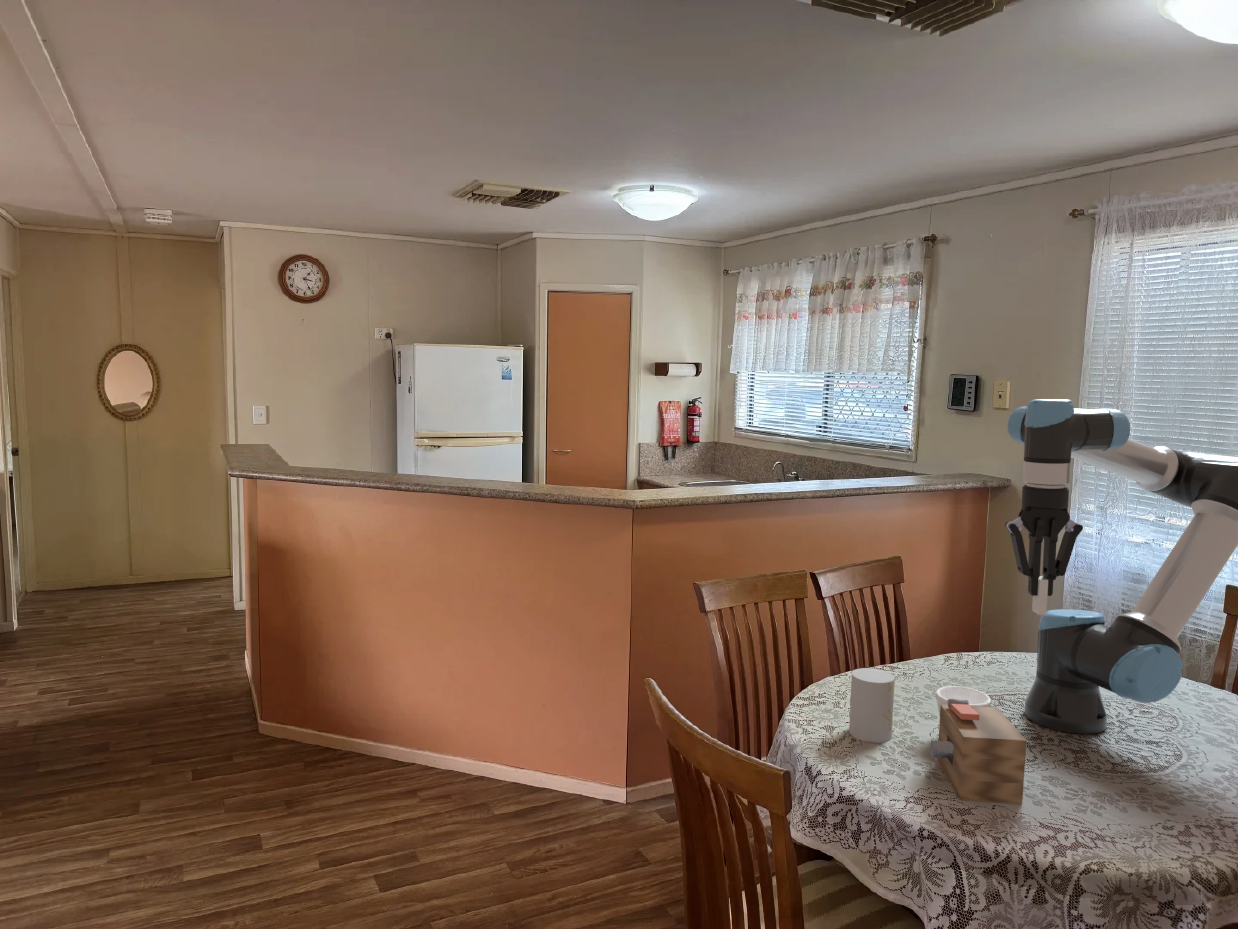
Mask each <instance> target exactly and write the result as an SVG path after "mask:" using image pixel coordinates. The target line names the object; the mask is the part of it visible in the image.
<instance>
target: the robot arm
mask: <svg viewBox="0 0 1238 929" xmlns="http://www.w3.org/2000/svg"><path fill="white" fill-rule="evenodd" d="M1006 427H1007V432H1008V435H1009V436H1010V438H1011V439H1012V440H1013V441H1015V442H1016V443H1019V444H1023V448H1024V449H1023V465H1022V466H1023V470H1022V471H1023V472H1022V482H1023V483H1025V484H1024V485H1023V486H1022V488H1021V508H1020V511H1019V513H1018V517H1017V518H1015V519H1013V520H1012V521H1006V522H1005V523H1004V527H1005V528H1006V529H1007V531H1008V533H1009V534H1010V538H1011V544H1012V548H1013V554H1014V557H1015V562H1016V568H1017V571H1018V572H1019V573H1021V574H1022V575H1024V576H1026V577H1028V579H1027V580H1028V584H1027V585H1028V586H1027V592H1028V594H1029V595H1031V596H1032V602H1031V603H1032V604H1031V606H1032V608H1031V611H1032V612H1033V613H1035V614H1037V615H1038V616H1040V621H1039V627H1038V628H1037V629H1038V635H1037V637H1038V638H1037V653H1036V654H1037V657H1036V673H1035V680H1034V682H1033V684H1032V686H1031V687H1030V690H1029V692H1028V695H1027V697H1026V699H1025V702H1024V710H1023V711H1024V715H1025V716H1026V717H1027V718H1028V719H1030V720H1031V721H1033V722H1034V723H1036V724H1038V725H1040V726H1043V727H1046V728H1048V729H1051V730H1056V731H1059V732H1060V731H1061V732H1065V733H1071V734H1080V735H1081V734H1082V735H1084V734H1085V735H1087V734H1098V733H1101V732H1103V731H1105V730H1106V728H1107V722H1108V721H1107V720H1108V717H1107V712H1106V708H1105V705H1104V701H1103V698H1102V694H1101V691H1100V688H1102V689H1105V690H1106V691H1109V692H1112V693H1114V694H1115V695H1117V696H1119V697H1121V698H1123V699H1128V700H1132V701H1134V702H1137V703H1140V704H1150V703H1156V702H1159V701H1161V700H1163V699H1165V698H1166V697H1168V696H1169V695H1171V693H1172V692H1173V691H1174V690H1175V689H1176V688H1177V687H1178V685H1179V683H1180V680H1181V679H1182V676H1183V673H1182V672H1181V671H1182V670H1183V668H1184V667H1183V666H1184V665H1183V660H1182V657H1181V656H1180V653H1181V650H1182V647H1181V644H1180V641H1179V636H1180V635H1181V634H1182V632H1183V630H1184V628H1185V627H1186V625H1187V624H1188V622H1189V621H1190V619H1191V618H1192V616H1193V614H1194V613H1195V612H1196V610H1197V608H1198V607H1199V605H1200V604H1201V602H1202V601H1203V599H1204V597H1206V595H1207V593H1208V591H1209V590H1210V589H1211V587H1212V586H1213V584H1214V583H1215V581H1216V579H1217V578H1218V576H1219V575H1220V573H1221V571H1222V570H1223V569H1224V567H1225V566H1226V564H1227V563H1228V561H1229V559H1230V557H1231V556H1232V555H1233V553H1234V551H1235V550H1236V549H1237V547H1238V456H1236V455H1226V454H1220V453H1218V454H1216V453H1209V452H1195V451H1194V452H1193V451H1183V450H1182V451H1181V450H1176V449H1171V448H1169V447H1167V446H1162V445H1161V446H1159V445H1158V446H1154V447H1152V446H1149V445H1147V444H1144V443H1142V442H1139V441H1137V440H1134V439H1131V438H1130V436H1131V422H1130V420H1129V418H1128V416H1127V415H1126V414H1125V413H1124V412H1122V411H1121V410H1119V409H1113V408H1112V409H1111V408H1110V409H1109V408H1103V407H1101V408H1094V409H1093V408H1074V402H1073V401H1072V400H1071V399H1061V398H1060V399H1059V398H1058V399H1057V398H1054V399H1053V398H1050V399H1049V398H1048V399H1045V398H1039V399H1038V398H1037V399H1032V400H1030V401H1029V402H1028V403H1027V406H1025V405H1024V406H1020V407H1018V408H1016V409H1014V410H1013V411H1012V412H1011V414H1010V415H1009V418H1008V421H1007V426H1006ZM1072 459H1075V460H1077V461H1080V462H1082V463H1085V464H1088V465H1091V466H1094V467H1096V468H1100V469H1102V470H1104V471H1107V472H1110V473H1112V474H1116V475H1118V476H1120V477H1124V478H1127V479H1129V480H1132V481H1134V482H1135V483H1136V484H1137V486H1138V487H1140V488H1141V489H1143V490H1144V491H1148V492H1150V493H1153V494H1155V495H1158V496H1160V497H1163V498H1165V499H1168V500H1170V501H1172V502H1175V503H1178V504H1180V505H1183V506H1186V507H1189V508H1191V509H1192V512H1193V514H1194V516H1193V518H1192V519H1191V520H1190V522H1189V523H1188V525H1187V526H1186V528H1185V530H1184V531H1183V533H1182V534H1181V536H1180V537H1179V539H1178V540H1177V541H1176V543H1175V545H1174V546H1173V548H1172V550H1171V551H1170V552H1169V554H1168V556H1167V557H1166V558H1165V560H1164V561H1163V563H1162V564H1161V566H1160V568H1159V569H1158V570H1157V572H1156V574H1155V575H1154V576H1153V578H1152V580H1151V581H1150V582H1149V584H1148V585H1147V587H1146V589H1145V590H1144V591H1143V593H1142V595H1141V597H1139V599H1138V601H1136V604H1135V606H1133V609H1132V610H1131V611H1130V612H1128V613H1127V612H1126V613H1121V614H1117V617H1116V618H1115V619H1114V621H1113V622H1112V623H1111V625H1110V626H1107V625H1105V623H1106V620H1105V615H1104V614H1102V613H1101V612H1097V611H1092V610H1085V609H1066V608H1063V609H1062V608H1061V609H1059V608H1058V609H1049V610H1048V597H1052V595H1053V592H1054V591H1053V590H1054V589H1053V588H1054V581H1056V579H1057V577H1060V576H1061V577H1063V576H1065V574H1066V572H1067V570H1068V569H1067V568H1068V566H1069V563H1070V559H1071V556H1072V553H1073V550H1074V546H1075V545H1076V544H1075V543H1076V541H1077V538H1078V536H1079V535H1080V534H1081V532H1082V531H1083V530H1084V526H1083V525H1082V524H1080V523H1078V522H1076V521H1073V519H1071V515H1070V513H1069V511H1068V510H1069V509H1068V508H1069V496H1070V489H1069V487H1068V485H1069V484H1070V481H1071V462H1072V461H1071V460H1072ZM1022 525H1023V527H1024V528H1025V530H1026V531H1027V532H1028V539H1029V540H1028V544H1029V545H1028V556H1027V551H1026V547H1025V542H1024V538H1023V535H1022V530H1023V527H1022ZM1063 529H1064V530H1065V531H1064V533H1063V536H1062V538H1061V542H1060V545H1059V548H1058V552H1057V543H1058V541H1059V540H1058V539H1059V534H1060V533H1061V531H1062V530H1063ZM1042 544H1043V552H1042ZM1042 553H1043V555H1042ZM1042 556H1043V558H1042ZM1041 559H1043V560H1042V562H1041ZM1041 563H1042V575H1041Z"/></svg>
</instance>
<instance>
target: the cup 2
mask: <svg viewBox="0 0 1238 929" xmlns="http://www.w3.org/2000/svg"><path fill="white" fill-rule="evenodd" d="M935 699H936V700H935V701H936V704H937V710H938V715H939V717H940V707H941V704H942V705H948V699H961V700H968V703H969V706H979V707H991V704H992V699H991V698H990V697H989V695H988V694H986V693H985V692H983V691H980V690H977V689H975V688H971V687H966V686H956V685H954V686H953V685H952V686H951V685H949V686H942V687H940V688H937V690H936V691H935Z"/></svg>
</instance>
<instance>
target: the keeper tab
mask: <svg viewBox="0 0 1238 929" xmlns="http://www.w3.org/2000/svg"><path fill="white" fill-rule="evenodd" d="M948 707H949V708H950V709H951V710H952V711H953V712H954V713H955V714H956V715H957V716H958V717H959V718H960V719H963V720H979V714H978V713H977V712H976V711H975V710H974V709H973V708H972V707H970V706H969V703H968V700H961V699H948Z"/></svg>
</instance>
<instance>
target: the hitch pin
mask: <svg viewBox="0 0 1238 929" xmlns="http://www.w3.org/2000/svg"><path fill="white" fill-rule="evenodd" d="M953 750H954V744H953V742H947V741H939V740H931V742H930V754H931V757H932V758H936V759H938V758H951V759H953Z"/></svg>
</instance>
